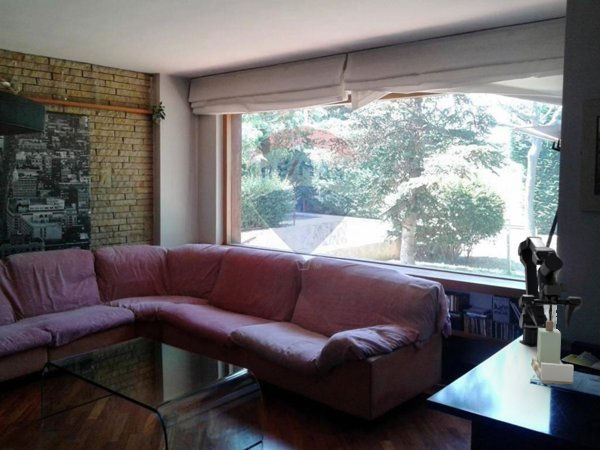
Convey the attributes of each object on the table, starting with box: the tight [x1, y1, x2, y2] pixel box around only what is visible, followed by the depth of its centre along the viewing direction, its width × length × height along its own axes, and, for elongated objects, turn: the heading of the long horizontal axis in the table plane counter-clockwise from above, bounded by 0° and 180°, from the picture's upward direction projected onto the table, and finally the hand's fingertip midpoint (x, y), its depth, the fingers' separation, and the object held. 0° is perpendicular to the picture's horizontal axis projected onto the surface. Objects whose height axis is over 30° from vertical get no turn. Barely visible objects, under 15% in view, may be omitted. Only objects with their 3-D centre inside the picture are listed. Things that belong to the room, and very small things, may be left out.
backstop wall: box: [541, 363, 575, 383], centre depth 167 cm, size 2×9×5 cm, turn 77°
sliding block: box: [536, 321, 562, 367], centre depth 178 cm, size 5×6×15 cm
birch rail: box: [530, 357, 574, 385], centre depth 174 cm, size 17×9×2 cm, turn 167°
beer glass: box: [543, 305, 557, 329], centre depth 215 cm, size 7×7×15 cm
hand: (552, 327), depth 176 cm, fingers open, 9 cm apart
